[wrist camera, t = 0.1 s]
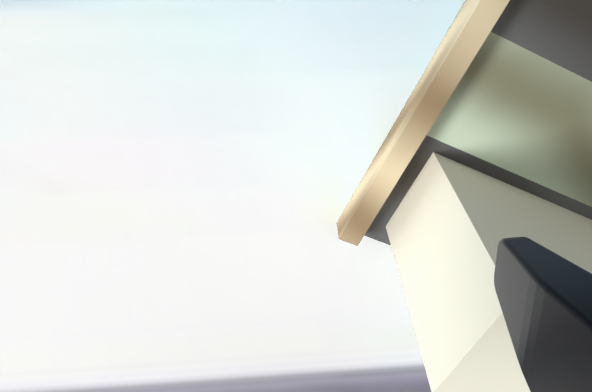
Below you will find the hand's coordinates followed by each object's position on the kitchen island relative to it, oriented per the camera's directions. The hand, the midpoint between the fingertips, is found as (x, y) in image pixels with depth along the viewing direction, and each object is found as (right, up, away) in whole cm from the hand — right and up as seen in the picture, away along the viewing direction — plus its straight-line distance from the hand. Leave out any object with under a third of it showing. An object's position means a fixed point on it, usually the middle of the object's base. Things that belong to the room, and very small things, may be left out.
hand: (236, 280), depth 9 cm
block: (+11, 0, +17) cm, 20 cm away
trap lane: (+13, +3, +15) cm, 20 cm away
